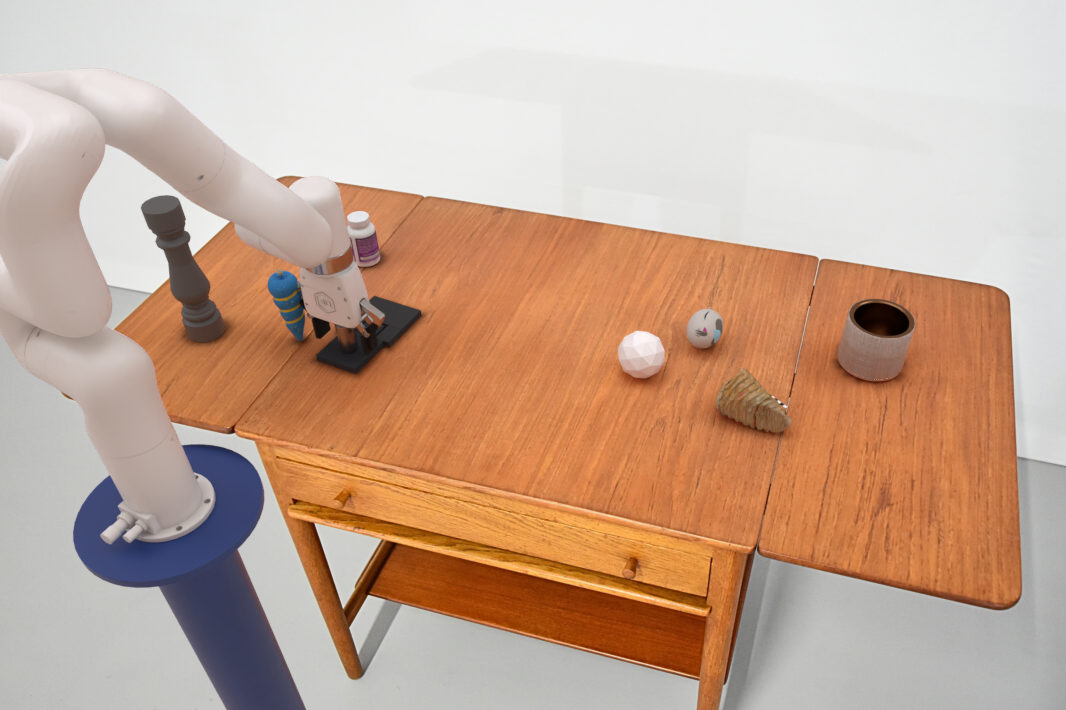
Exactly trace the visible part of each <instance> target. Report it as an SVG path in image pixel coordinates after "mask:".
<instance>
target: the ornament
mask: <svg viewBox="0 0 1066 710" xmlns="http://www.w3.org/2000/svg"><path fill="white" fill-rule="evenodd" d="M298 286H301V283H300V281H299V280H298V278H297V277H296V275H294V274H293V273H292V272H290V271H288V270H282V269H276V272H273V273H272V274H271V275H270V276H269V277H268V280H267V290H268V293H270V295H271V296H272V301H273V304H274V305H275V306H276V307H277V308H278V309H279V314H280V316H281V318H282V319H283V320H284V322H285V326H286V328H287V330H288V331H289V332H290V333H291V334H292V335H293V336H294V337H295V339H296V340H297V341H298V342H303V340H304V331H305V325H306V313H305V309H304V308H303V307H302V306H301V305H300V297H299V295H298V293H297V292H296V289H297V288H298Z"/></svg>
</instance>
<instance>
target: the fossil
mask: <svg viewBox="0 0 1066 710" xmlns="http://www.w3.org/2000/svg"><path fill="white" fill-rule="evenodd" d="M782 407H783V408H784V409H787V408H788V405H786V404H785V403H783V402H782V401H780V400H779V399H778V398H776V397H775V396H774V395H772V394H771V393H770V392H769V391H768V390H767V389H766V388H765V387H764V386H762V384H761V382H760V381H759V380H758V379H756V378H755V376H754V375H753V374H752V373H751V372H750V371H749V369H747V368H743V367H742V368H739V369H738V372H737V373H736V374H735V375H734V376H733V377H731V378H729V379H728V380H727V381H725V382H724V383H723V385H722V387H721V388H720V389H719V391H718V392H717V394H716V397H715V408H716V410H717V411H718V412H719V414H720V413H721V415H722V416H727V418H728V419H734V420H735V422H736V423H742V425H744V426H750V428H752V429H755V428H756V429H757V431H762V430H764V431H765V432H766V433H768V432H770V433H780V432H783V431H784V430H786V429H788V427H790V426H791V425H792V424H791V423H792V418H791V416H789V415H787V414H785V411H783V408H782Z"/></svg>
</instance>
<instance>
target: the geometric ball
mask: <svg viewBox="0 0 1066 710" xmlns="http://www.w3.org/2000/svg"><path fill="white" fill-rule="evenodd" d="M617 356H618V362H619V365H620V367H621V369H622V371H623V372H624V373H626V374H628V375H629V376H631V377H633V378H635V379H648V378H650V377H652V376H654V375H656V374H658V373H659V371H660V370H661V368H662V367H663V365H664V364H665V362H666V351H665V348H664V345H663V343H662V341H661V338H660V337H658V336H657V335H655V334H653V333H651V332H649V331H645V330H644V331H643V330H634V331H633V332H631V333H629V334H627V335H625V336H624V337H623V339H622V340H621V342H620V344H619V346H618V347H617Z"/></svg>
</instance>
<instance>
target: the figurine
mask: <svg viewBox="0 0 1066 710" xmlns="http://www.w3.org/2000/svg"><path fill="white" fill-rule="evenodd" d="M685 330H686V332H685V333H686V337H687V340H688V342H689V344H691V345H692V346H693V347H695V348H697V349H707V348H711V347H712V346H714V345H715V344H716V343H717V342H718V341H720V338H721V336H722V334H723V332H724V322H723V318H722V317H721V315H720V313H718V312H717V311H716V310H714V309H711V306H709V307H708V308H701V309H699V310H697V311H696V312H695V313H694V314H693V315H691V316H690V318H689V320H688V322H687V325H686V329H685Z"/></svg>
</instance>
